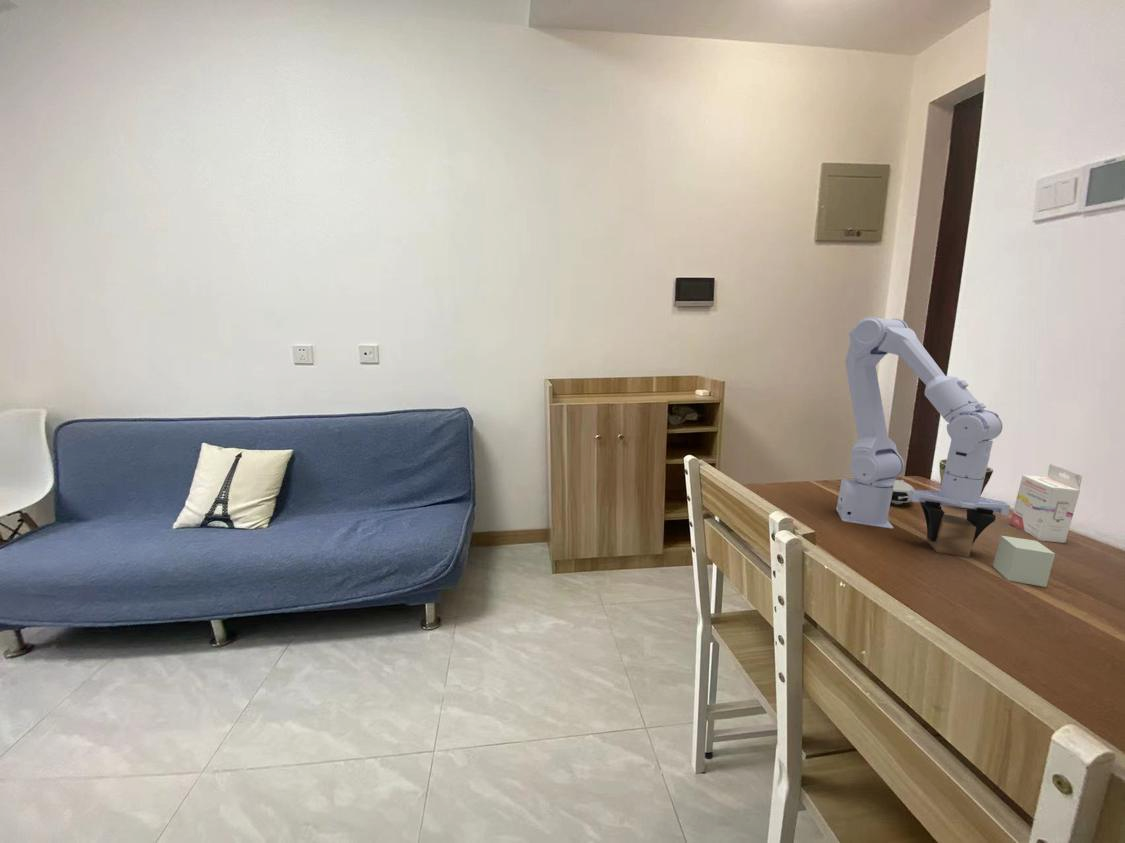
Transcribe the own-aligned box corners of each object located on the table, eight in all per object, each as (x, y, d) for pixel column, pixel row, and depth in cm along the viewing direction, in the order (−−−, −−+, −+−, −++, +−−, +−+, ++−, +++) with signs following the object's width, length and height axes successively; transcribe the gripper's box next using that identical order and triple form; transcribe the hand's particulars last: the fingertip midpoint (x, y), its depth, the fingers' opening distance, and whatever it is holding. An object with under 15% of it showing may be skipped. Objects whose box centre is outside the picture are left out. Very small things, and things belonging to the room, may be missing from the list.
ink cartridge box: (1007, 524, 103) (1023, 460, 100) (1033, 526, 102) (1050, 463, 99) (1038, 541, 95) (1056, 472, 92) (1066, 544, 94) (1086, 475, 91)
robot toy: (846, 504, 114) (920, 511, 108) (848, 487, 113) (922, 492, 107) (838, 489, 125) (905, 494, 119) (839, 473, 124) (906, 477, 118)
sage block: (1007, 580, 78) (1016, 547, 76) (992, 566, 82) (1000, 535, 81) (1046, 587, 76) (1055, 553, 75) (1028, 572, 81) (1036, 540, 79)
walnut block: (936, 551, 87) (943, 522, 86) (926, 540, 92) (932, 512, 90) (969, 557, 85) (976, 527, 84) (957, 545, 90) (964, 517, 89)
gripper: (925, 475, 84) (910, 543, 87) (1026, 487, 79) (1007, 559, 82) (911, 464, 91) (899, 528, 94) (1004, 475, 86) (987, 542, 89)
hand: (948, 542), depth 88 cm, fingers closed on walnut block, 5 cm apart
